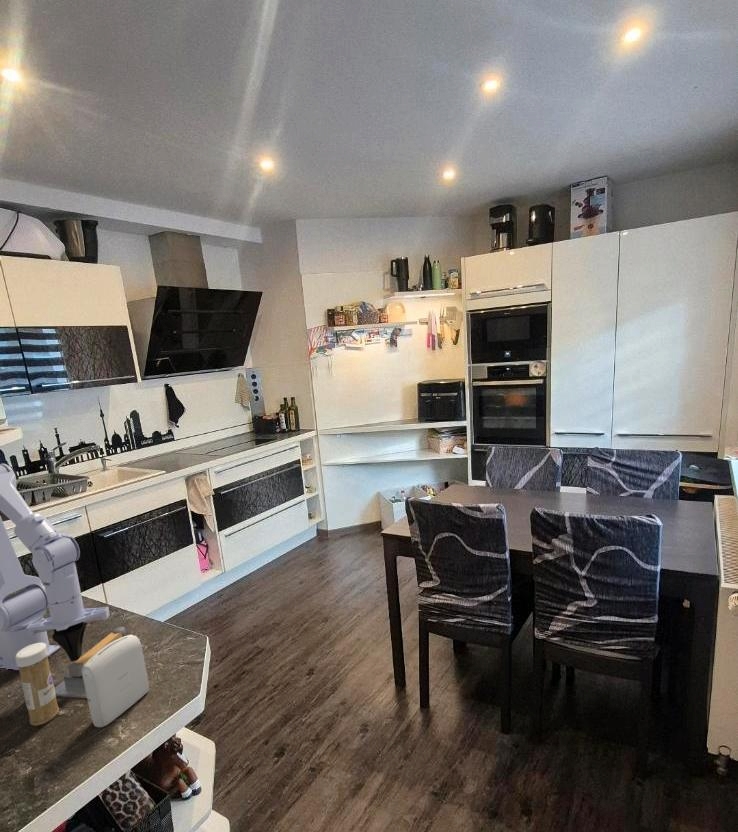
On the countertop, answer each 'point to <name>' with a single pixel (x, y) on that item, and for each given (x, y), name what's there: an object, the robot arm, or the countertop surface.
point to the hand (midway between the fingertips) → (76, 657)
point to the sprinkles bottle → (37, 683)
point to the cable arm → (95, 651)
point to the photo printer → (115, 679)
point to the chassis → (72, 686)
